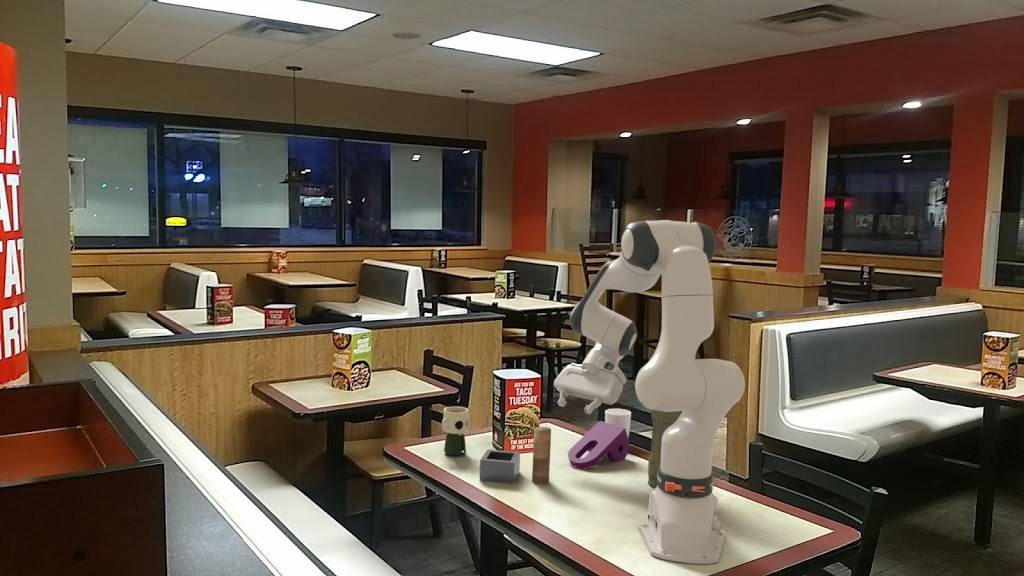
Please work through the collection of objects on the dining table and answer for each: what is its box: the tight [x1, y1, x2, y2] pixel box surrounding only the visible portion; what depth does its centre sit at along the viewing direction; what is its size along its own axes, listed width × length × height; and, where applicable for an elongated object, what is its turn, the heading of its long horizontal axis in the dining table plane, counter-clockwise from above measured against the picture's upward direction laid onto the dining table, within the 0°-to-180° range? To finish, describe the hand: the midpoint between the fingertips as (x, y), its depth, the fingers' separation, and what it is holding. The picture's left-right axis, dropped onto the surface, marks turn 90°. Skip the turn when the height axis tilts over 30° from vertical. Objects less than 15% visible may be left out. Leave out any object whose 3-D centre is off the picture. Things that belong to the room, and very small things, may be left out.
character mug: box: [441, 406, 470, 456], centre depth 220 cm, size 11×7×13 cm, turn 141°
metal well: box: [479, 449, 521, 485], centre depth 203 cm, size 9×9×6 cm
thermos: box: [647, 410, 682, 490], centre depth 199 cm, size 9×12×35 cm
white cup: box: [604, 408, 632, 437], centre depth 236 cm, size 8×8×10 cm
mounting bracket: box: [567, 420, 630, 470], centre depth 219 cm, size 10×8×18 cm
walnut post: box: [531, 426, 552, 485], centre depth 200 cm, size 4×4×14 cm
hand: (573, 408), depth 207 cm, fingers open, 8 cm apart
